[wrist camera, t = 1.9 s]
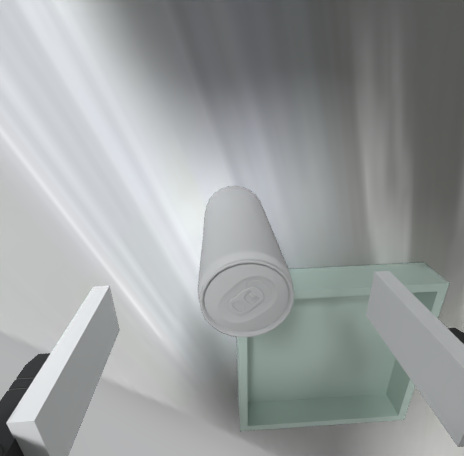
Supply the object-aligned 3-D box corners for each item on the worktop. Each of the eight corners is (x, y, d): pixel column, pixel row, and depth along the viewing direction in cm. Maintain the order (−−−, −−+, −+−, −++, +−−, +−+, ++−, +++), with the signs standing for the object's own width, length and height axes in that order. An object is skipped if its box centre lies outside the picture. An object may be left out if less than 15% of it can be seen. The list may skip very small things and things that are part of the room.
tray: (234, 271, 28) (237, 294, 25) (423, 262, 28) (449, 283, 25) (238, 401, 35) (240, 431, 32) (387, 391, 36) (403, 419, 33)
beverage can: (272, 213, 26) (316, 304, 15) (230, 246, 27) (240, 354, 16) (236, 171, 24) (255, 238, 13) (192, 209, 25) (175, 299, 14)
